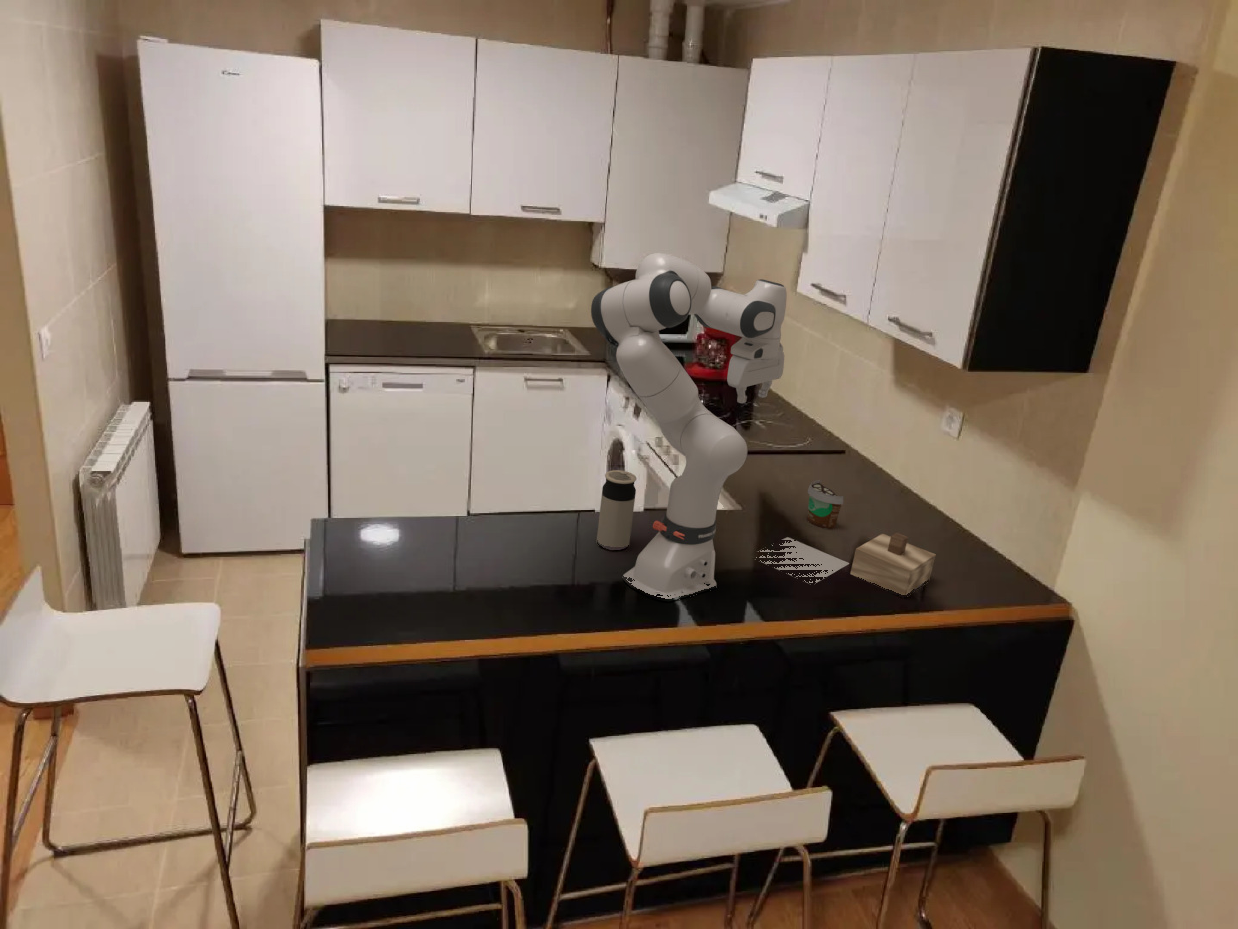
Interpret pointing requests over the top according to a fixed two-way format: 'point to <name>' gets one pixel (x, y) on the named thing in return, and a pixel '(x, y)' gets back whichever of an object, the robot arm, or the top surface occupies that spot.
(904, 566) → the tan block
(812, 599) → the top surface
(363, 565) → the top surface
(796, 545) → the white paper sheet
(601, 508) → the travel mug
